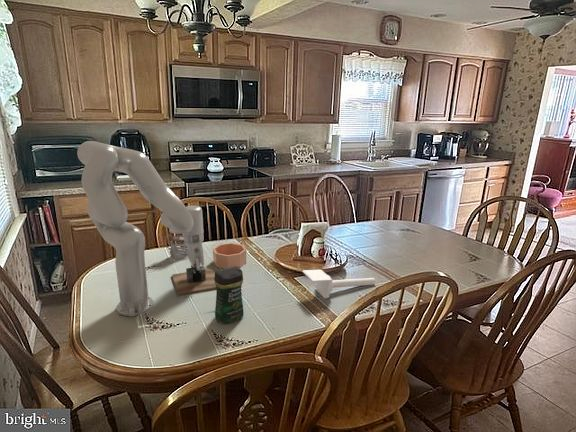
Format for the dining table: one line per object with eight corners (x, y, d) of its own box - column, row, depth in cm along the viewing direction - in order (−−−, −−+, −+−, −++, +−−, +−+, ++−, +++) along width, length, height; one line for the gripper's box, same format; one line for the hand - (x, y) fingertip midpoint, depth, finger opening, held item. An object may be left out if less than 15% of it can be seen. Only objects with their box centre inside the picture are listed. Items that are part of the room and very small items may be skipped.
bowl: (249, 266, 173) (249, 252, 171) (218, 271, 168) (218, 257, 166) (240, 255, 185) (239, 241, 183) (211, 259, 180) (210, 245, 178)
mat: (223, 289, 153) (223, 288, 153) (177, 298, 146) (177, 296, 146) (213, 270, 169) (213, 269, 169) (170, 277, 162) (170, 276, 162)
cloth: (222, 287, 153) (221, 274, 151) (178, 295, 147) (177, 281, 145) (212, 270, 168) (211, 257, 166) (172, 276, 161) (171, 263, 160)
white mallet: (302, 270, 150) (369, 267, 164) (299, 290, 153) (365, 285, 166) (312, 280, 142) (382, 276, 156) (309, 302, 144) (378, 295, 158)
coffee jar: (222, 327, 129) (221, 277, 123) (212, 316, 135) (210, 268, 129) (247, 318, 135) (246, 270, 129) (236, 308, 141) (235, 261, 135)
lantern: (193, 258, 181) (190, 207, 173) (169, 263, 175) (165, 211, 167) (186, 251, 189) (183, 202, 181) (162, 256, 182) (158, 206, 174)
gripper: (207, 243, 145) (209, 286, 151) (199, 229, 160) (201, 268, 166) (187, 245, 142) (190, 289, 148) (180, 231, 157) (183, 271, 163)
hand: (196, 278), depth 157 cm, fingers open, 3 cm apart
